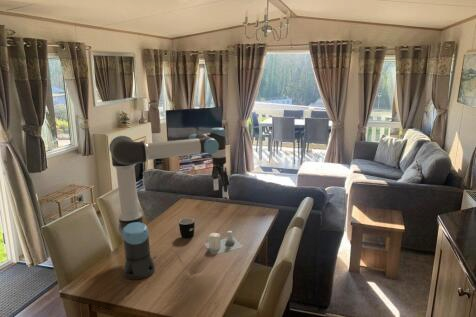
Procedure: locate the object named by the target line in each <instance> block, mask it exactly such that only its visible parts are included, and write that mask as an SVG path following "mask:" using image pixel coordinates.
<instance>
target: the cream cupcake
mask: <svg viewBox="0 0 476 317" xmlns="http://www.w3.org/2000/svg"><path fill="white" fill-rule="evenodd" d="M220 240H221V234H220V233H217V232H211V233H210V234H208V242H209V248H210V249H211V250H217V249H220V247H221V242H220Z"/></svg>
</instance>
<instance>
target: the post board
mask: <svg viewBox="0 0 476 317" xmlns="http://www.w3.org/2000/svg"><path fill="white" fill-rule="evenodd" d="M226 235H227V236H226V237H225V238H222V239H221V238H220V242H221V247H220V249H217V250H211V249H210V248H209V241H208V242H203V245H205V247H206V248H207V250H208V251H209V252H210V254H211V255H217V254H221V253H225V252H228V251H229V252H230V251H233V250H238V249H241V248H244V246H243V244H241V243H240V242H239V241H238V240H237V239H236V238H235V236H233V231H232V230H228V231H226Z"/></svg>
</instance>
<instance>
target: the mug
mask: <svg viewBox="0 0 476 317" xmlns="http://www.w3.org/2000/svg"><path fill="white" fill-rule="evenodd" d="M195 224H196V223H195V219H193V218H190V217H189V218H188V217H187V218H181V219H179V221H178V227H179V233H180V236H181V238H183V239H190V238H193V237H194V235H195V228H196V227H195Z"/></svg>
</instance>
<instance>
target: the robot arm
mask: <svg viewBox="0 0 476 317" xmlns="http://www.w3.org/2000/svg"><path fill="white" fill-rule="evenodd" d="M109 151H110V154H111V156H110V158H111V165H112V166H113V167H114V168H115V169H116V171H115V172H116V179H117V187H118V195H119V204H120V214H119V215H118V221H119V222H118V230H119V231H118V232H119V234H120V236H121V238H122V243H123V249H124V256H125V260H124V264H123V268H122V274H123V276H124V278H126V279H128V280H135V281H136V280H137V281H138V280H142V279H146V278H148V277H150V276H151V275H153V274H154V273H155V271H156V265H155V262H154V259H153V257H152V255H151V250H150V249H151V248H150V239H149V238H150V237H149V232H150V231H149V228H148V226H147V224H146V223H144V218H143V213H142V212H141V211H140V210H139V209H140V208H139V199H138V198H139V197H138V191H137V190H138V189H137V188H138V187H137V181H136V171H135V170H136V169H135V168H136V167H135V166H136V165H137V164H143V163H147V162H148V160H149V161H150V160H156V159H167V158H173V157H183V156H192V155H197V154H198V155H199V154H208V155H211V156H212V157H211V159H212V171H211V177H212V180H213V191H219V190H220V189H219V188H220V187H219V176H220V180H221V183H222V185H221V187H222V198H228V197H229V193H228V192H229V191H228V190H229V189H228V186H230V181H229V176H228V171H227V167H226V166H224V165H225V164H227V152H226V151H227V149H226V130H225V128H223V127H212V128H211V129H210V132H205V133H203V132H202V133H194V134H190V135H189V137H188V139H187V138H186V139H179V140H168V141H159V142H158V141H157V142H150V143H146V142H145V141H134V140H133V139H132V138H131V137H129V136H126V135H119V136H115V137H114V138H113V139H112V140H111V142H110V143H109Z"/></svg>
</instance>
